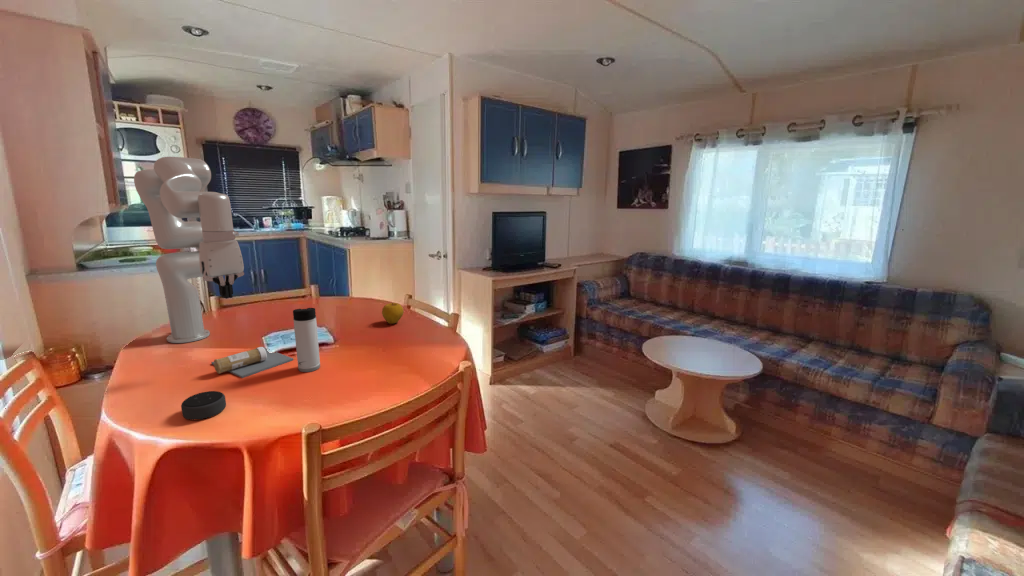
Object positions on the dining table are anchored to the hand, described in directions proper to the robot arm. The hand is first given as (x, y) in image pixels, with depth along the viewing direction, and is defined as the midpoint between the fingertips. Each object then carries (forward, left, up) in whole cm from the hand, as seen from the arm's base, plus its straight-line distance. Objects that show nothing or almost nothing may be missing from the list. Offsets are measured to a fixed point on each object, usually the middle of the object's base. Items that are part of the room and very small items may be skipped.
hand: (227, 297), depth 124 cm
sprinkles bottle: (+1, -6, -20) cm, 21 cm away
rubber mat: (0, +5, -23) cm, 23 cm away
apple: (+7, +59, -23) cm, 64 cm away
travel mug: (+19, +12, -23) cm, 32 cm away
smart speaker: (+21, -18, -23) cm, 36 cm away
